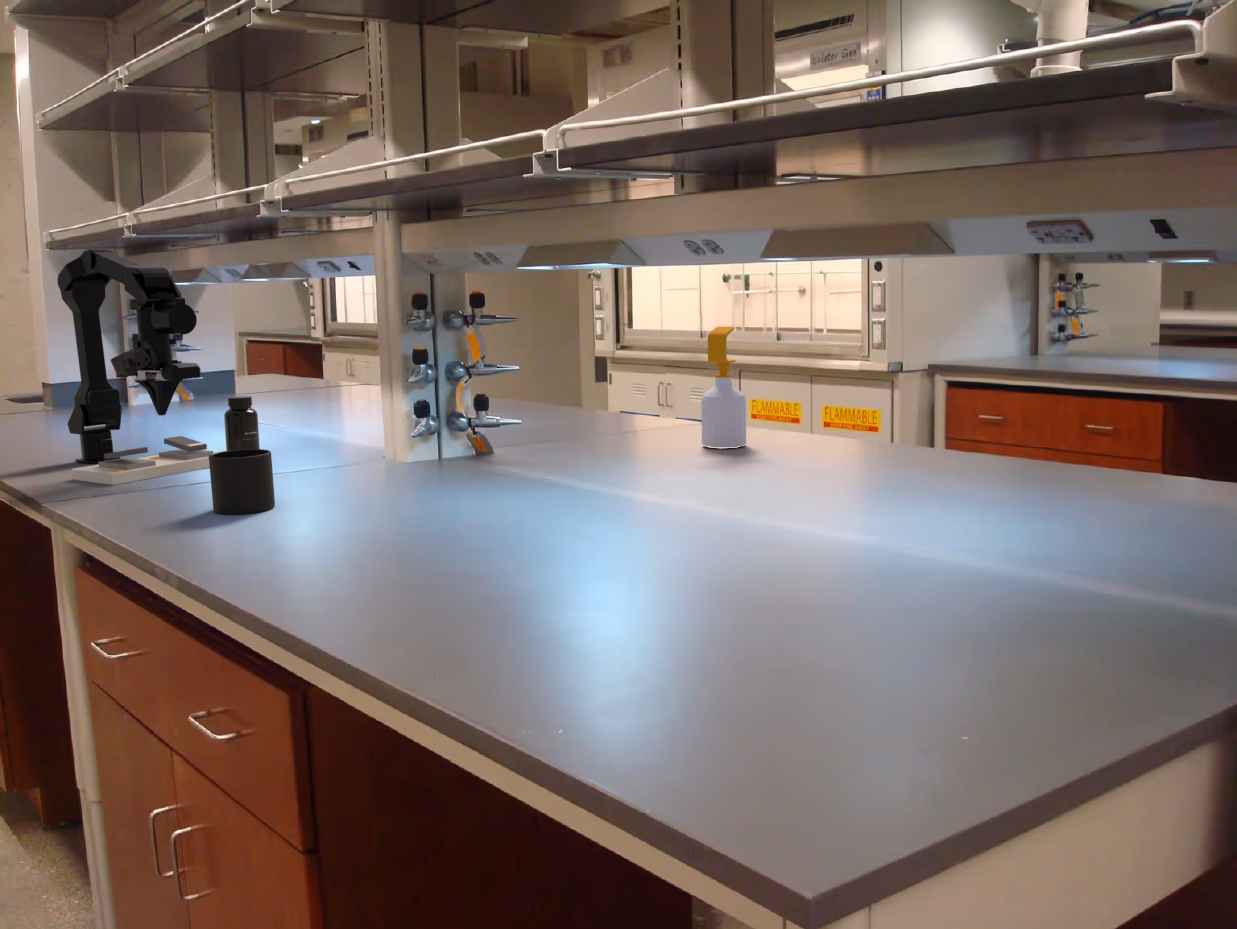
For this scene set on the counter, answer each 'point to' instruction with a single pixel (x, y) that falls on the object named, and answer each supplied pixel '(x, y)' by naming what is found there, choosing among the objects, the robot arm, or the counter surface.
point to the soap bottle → (722, 399)
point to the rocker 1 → (126, 452)
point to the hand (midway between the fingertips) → (161, 415)
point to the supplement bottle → (241, 424)
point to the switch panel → (143, 467)
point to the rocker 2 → (185, 443)
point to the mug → (242, 481)
